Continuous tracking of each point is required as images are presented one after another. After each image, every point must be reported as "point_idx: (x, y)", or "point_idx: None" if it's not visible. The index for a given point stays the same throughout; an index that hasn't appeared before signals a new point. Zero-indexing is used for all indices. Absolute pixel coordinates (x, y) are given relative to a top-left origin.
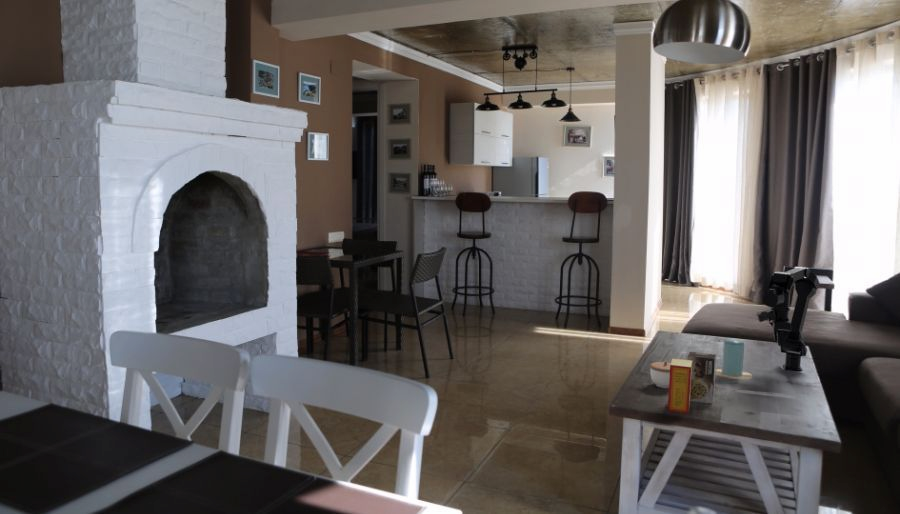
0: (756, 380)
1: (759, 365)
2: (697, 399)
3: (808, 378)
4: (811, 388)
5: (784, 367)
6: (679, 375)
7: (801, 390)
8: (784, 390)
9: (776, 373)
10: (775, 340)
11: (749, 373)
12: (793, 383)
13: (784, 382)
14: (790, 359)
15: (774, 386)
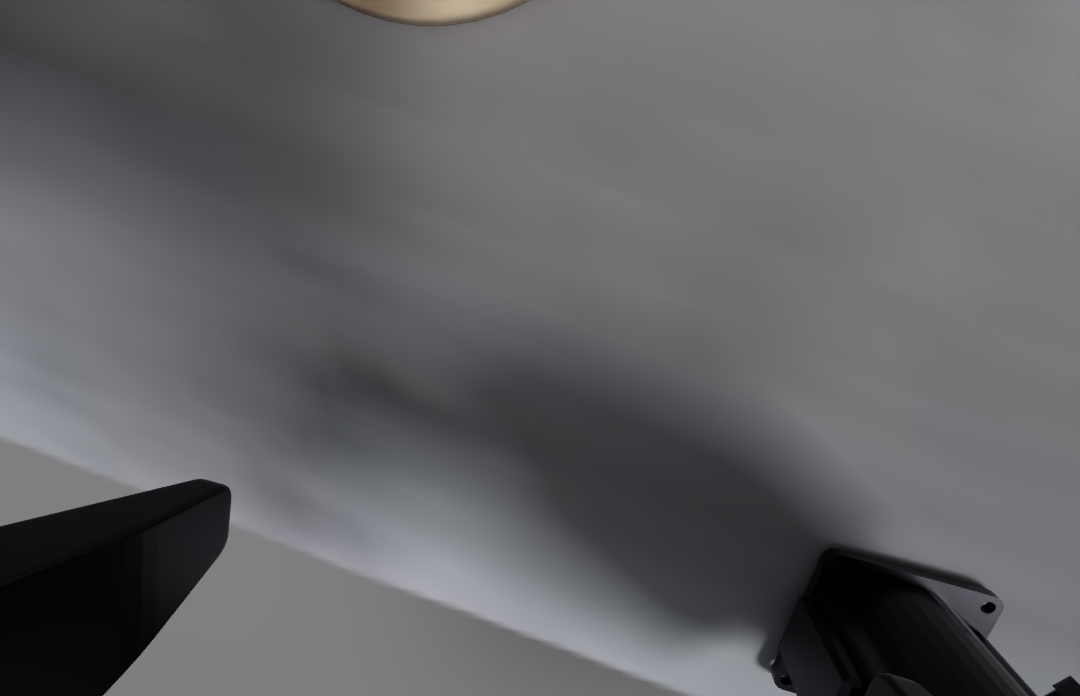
0: (341, 54)
1: (1025, 336)
2: None
3: (513, 608)
4: None
5: (866, 560)
6: None
7: (117, 382)
8: (66, 227)
9: (662, 393)
10: (876, 677)
11: (482, 2)
12: (319, 407)
13: (333, 336)
14: (862, 675)
15: (168, 179)
